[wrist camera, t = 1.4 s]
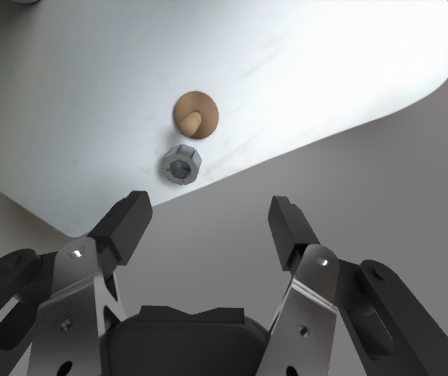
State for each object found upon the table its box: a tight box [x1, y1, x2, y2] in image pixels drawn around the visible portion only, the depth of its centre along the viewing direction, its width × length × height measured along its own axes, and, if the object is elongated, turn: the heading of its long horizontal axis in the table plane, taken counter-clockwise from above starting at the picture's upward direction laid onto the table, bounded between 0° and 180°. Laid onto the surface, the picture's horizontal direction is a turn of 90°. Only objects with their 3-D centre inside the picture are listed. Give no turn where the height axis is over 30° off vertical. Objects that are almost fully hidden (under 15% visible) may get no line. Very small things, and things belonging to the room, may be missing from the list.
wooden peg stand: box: [174, 91, 219, 139], centre depth 23 cm, size 7×7×8 cm
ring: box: [162, 144, 202, 185], centre depth 30 cm, size 6×6×4 cm
